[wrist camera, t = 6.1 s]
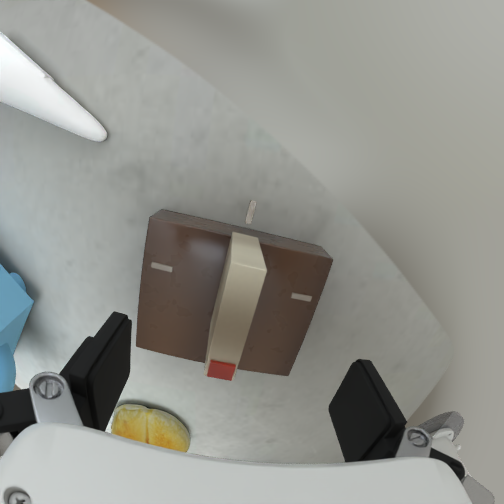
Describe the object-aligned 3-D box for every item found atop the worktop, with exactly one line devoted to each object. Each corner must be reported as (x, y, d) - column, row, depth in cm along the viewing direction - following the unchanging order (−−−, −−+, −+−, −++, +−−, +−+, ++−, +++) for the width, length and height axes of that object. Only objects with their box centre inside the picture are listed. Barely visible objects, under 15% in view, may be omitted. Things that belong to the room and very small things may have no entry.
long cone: (75, 195, 21) (-27, 88, 14) (121, 134, 20) (9, 36, 13) (45, 205, 15) (-59, 81, 9) (100, 126, 15) (-19, 19, 8)
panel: (330, 216, 21) (345, 225, 18) (283, 354, 24) (288, 377, 21) (167, 176, 19) (155, 179, 16) (145, 326, 23) (134, 347, 20)
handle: (232, 231, 17) (230, 263, 12) (258, 237, 18) (267, 272, 12) (210, 322, 19) (203, 378, 14) (233, 327, 20) (233, 383, 14)
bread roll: (185, 451, 28) (182, 476, 25) (115, 431, 27) (107, 455, 23) (198, 415, 26) (195, 444, 22) (115, 391, 25) (104, 417, 21)
